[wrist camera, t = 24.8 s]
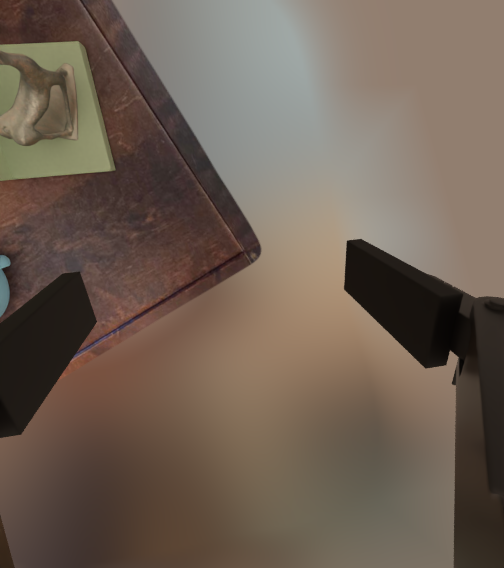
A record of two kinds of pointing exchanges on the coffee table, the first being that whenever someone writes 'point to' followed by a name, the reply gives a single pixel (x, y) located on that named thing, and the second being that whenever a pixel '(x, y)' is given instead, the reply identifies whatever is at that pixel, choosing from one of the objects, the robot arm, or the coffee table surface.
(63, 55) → the rack
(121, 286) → the coffee table surface
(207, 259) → the coffee table surface
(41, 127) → the figurine
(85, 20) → the coffee table surface
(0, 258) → the teapot
